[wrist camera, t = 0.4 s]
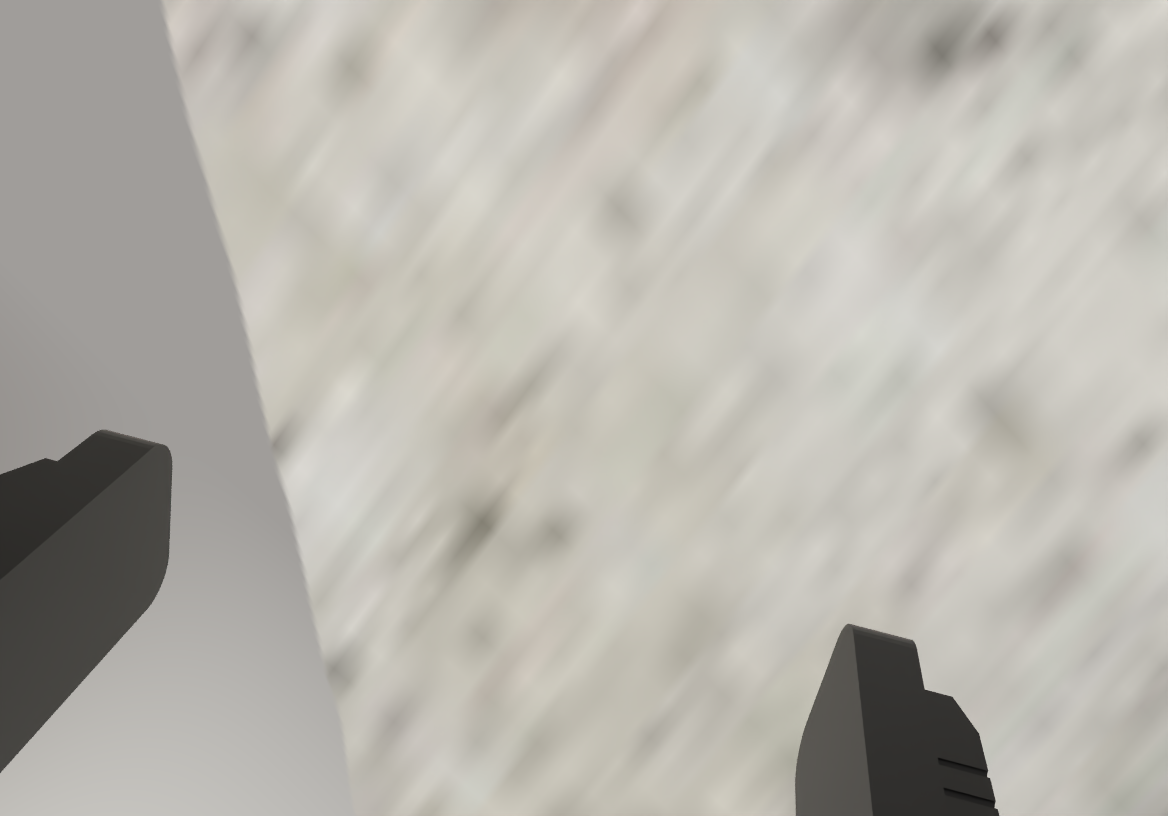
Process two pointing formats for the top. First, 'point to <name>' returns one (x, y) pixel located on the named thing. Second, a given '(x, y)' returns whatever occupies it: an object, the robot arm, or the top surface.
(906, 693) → the robot arm
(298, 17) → the top surface
